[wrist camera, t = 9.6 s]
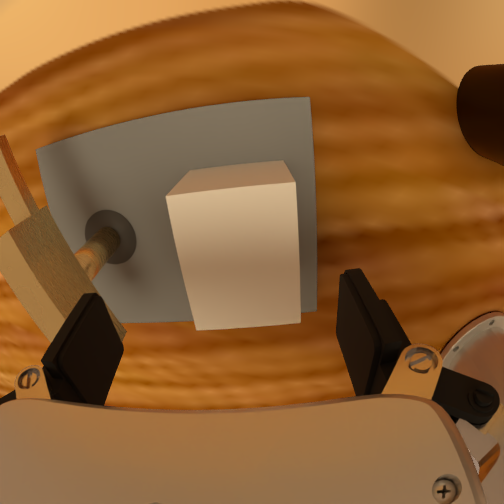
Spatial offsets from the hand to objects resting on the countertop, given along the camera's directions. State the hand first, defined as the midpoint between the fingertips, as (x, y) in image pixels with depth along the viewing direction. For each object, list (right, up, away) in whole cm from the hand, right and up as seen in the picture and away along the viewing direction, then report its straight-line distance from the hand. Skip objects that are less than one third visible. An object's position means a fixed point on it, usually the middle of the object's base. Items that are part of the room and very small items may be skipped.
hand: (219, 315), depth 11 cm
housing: (-4, +5, +11) cm, 13 cm away
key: (-10, +5, +9) cm, 14 cm away
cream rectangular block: (+1, +4, +9) cm, 10 cm away
